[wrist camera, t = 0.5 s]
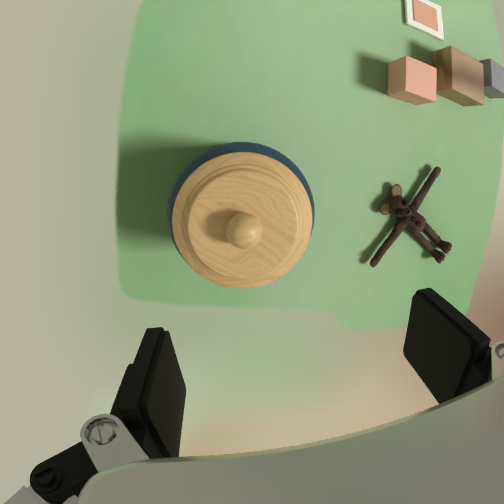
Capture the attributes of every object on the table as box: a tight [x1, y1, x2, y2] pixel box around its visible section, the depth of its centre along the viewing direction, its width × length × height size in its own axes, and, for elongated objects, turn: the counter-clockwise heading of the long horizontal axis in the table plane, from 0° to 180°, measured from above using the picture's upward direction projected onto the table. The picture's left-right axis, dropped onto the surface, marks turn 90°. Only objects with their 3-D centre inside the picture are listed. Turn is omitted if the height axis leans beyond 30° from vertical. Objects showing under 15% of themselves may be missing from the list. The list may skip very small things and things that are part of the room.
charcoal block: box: [479, 59, 504, 98], centre depth 31 cm, size 5×5×5 cm
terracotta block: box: [387, 56, 437, 105], centre depth 31 cm, size 5×5×5 cm
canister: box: [167, 142, 314, 288], centre depth 29 cm, size 13×13×18 cm
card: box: [404, 0, 444, 41], centre depth 29 cm, size 7×7×1 cm
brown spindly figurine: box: [370, 167, 452, 267], centre depth 39 cm, size 18×4×14 cm
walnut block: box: [433, 46, 484, 106], centre depth 31 cm, size 7×7×5 cm
